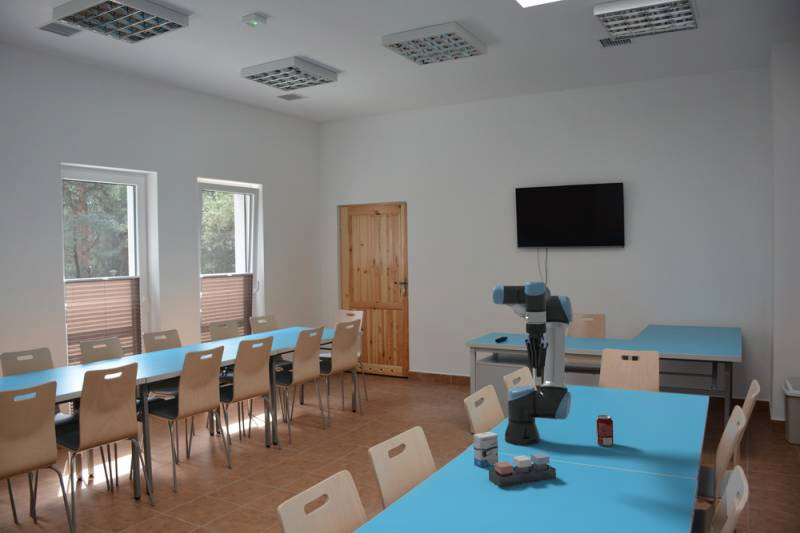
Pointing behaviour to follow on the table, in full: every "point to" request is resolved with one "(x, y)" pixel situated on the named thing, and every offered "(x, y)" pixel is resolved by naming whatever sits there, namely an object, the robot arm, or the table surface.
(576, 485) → the table surface
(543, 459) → the key slate
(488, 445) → the ink box
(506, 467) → the key brick
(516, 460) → the key white
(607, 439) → the soda can
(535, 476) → the console
